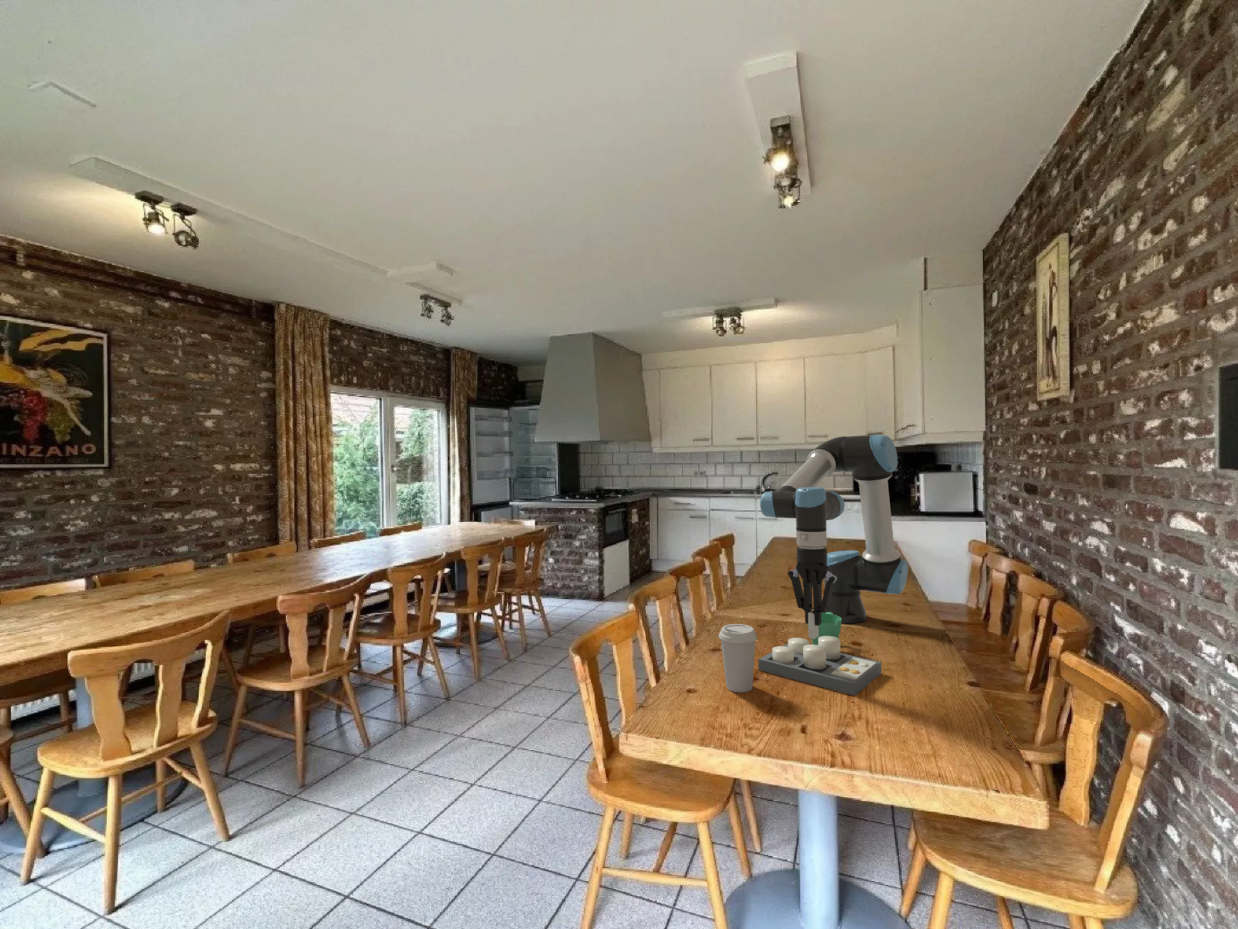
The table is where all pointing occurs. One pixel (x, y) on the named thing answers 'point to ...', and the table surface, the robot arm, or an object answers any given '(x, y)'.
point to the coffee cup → (738, 656)
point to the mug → (828, 626)
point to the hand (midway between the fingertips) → (813, 636)
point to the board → (827, 672)
